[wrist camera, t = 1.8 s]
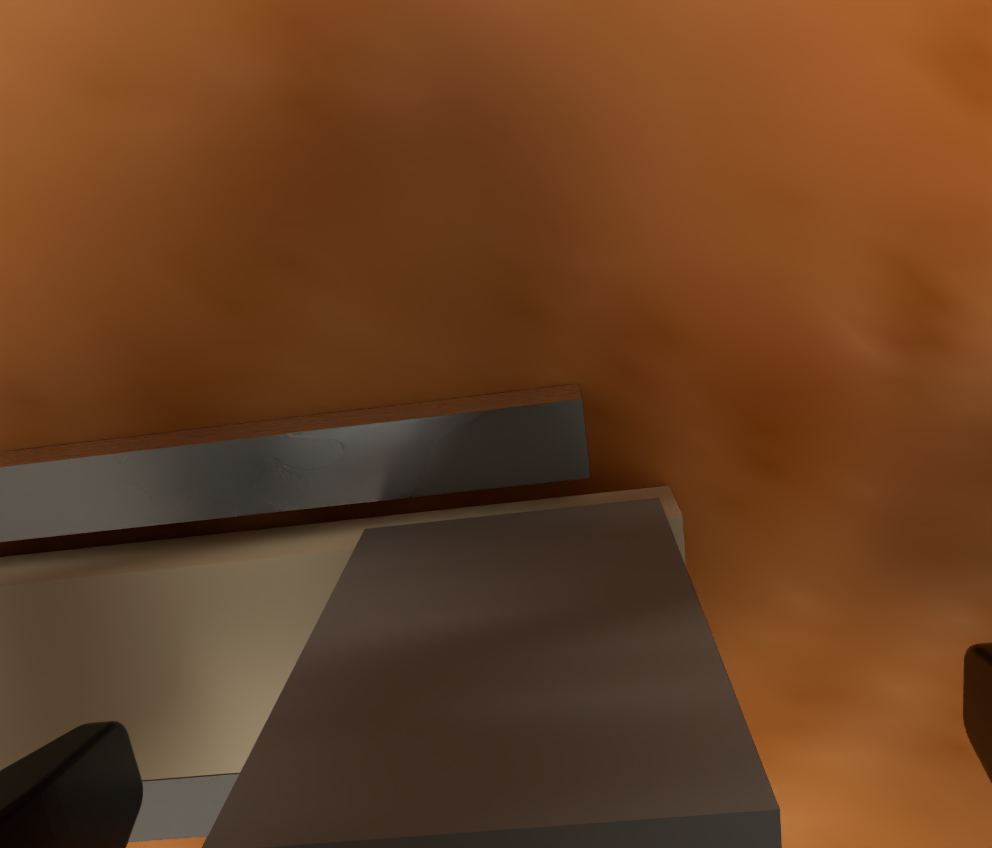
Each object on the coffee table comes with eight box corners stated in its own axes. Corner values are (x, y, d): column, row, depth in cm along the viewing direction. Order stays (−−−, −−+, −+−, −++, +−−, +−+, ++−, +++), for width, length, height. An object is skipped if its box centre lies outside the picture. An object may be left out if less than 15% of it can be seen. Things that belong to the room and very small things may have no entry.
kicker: (639, 115, 9) (797, -1, 4) (707, 945, 13) (847, 1584, 7) (-530, 284, 11) (-1787, 400, 5) (-198, 999, 14) (-722, 1579, 8)
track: (578, 383, 11) (582, 398, 10) (621, 765, 12) (625, 804, 11) (-339, 491, 12) (-402, 514, 11) (-193, 829, 13) (-239, 869, 12)
